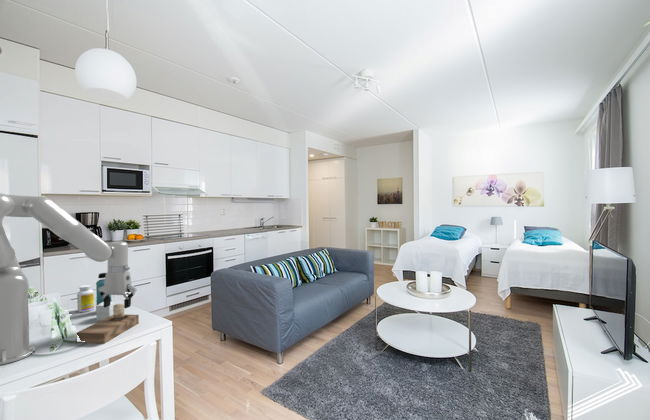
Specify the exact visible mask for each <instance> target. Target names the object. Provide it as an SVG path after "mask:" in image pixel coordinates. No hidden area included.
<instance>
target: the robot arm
mask: <svg viewBox="0 0 650 420" xmlns="http://www.w3.org/2000/svg"><path fill="white" fill-rule="evenodd" d="M5 217H6V218H7V217H11V218H12V217H14V218H33V219H35V221H38V223H40V224H41V225H42V226H44V227H45V228H47V229H49V230H50V231H51V232H52V233H53V234H54V235H56V236H57V237H59V238H61V240H63V241H65V242H68V243H69V244H71V245H73V246H74V247H76V248H77V249H79V250H80V251H81V252H83V253H84V255H85V256H86V257H87V258H88V259H90V260H93V261H95V262H99V263H102V262H106V261H107V272H105V273H106V277H105V278H104V279H105V283H104V286H102V287H100V288H98V290H99V292H100V295H101V296H102V298H103V299H104V307H108V306H110V302H111V301H112V296H123V297H124V300H123V301H124V302H123V304H124V309H127V308H130V307H131V305H132V299H133V297H134V295H136V292H137V288H136V287H134V286H132V278H131V272H130V271H129V270H130V269H131V268H130V266H129V263H128V262H129V244H128V242H127V241H121V240H120V241H119V240H118V241H111V242H106V241H104V240H102V239H101V238H100V237H99V236H98V235H96V234H95V233H94V232H92V231H91V230H90V229H89V228H87V227H86V226H85V225H83V224H82V223H81V222H80V221H79V220H77V218H75V217H73V216H72V215H71V214H70V213H69V212H67V211H66V210H65V209H63V207H62V206H60V205H59V204H58V203H56V201H54V200H52V199H51V198H49V197H47V196H43V195H40V196H33V195H31V196H29V195H15V194H5V193H1V192H0V366H1V365H5V364H11V363H13V362H14V363H15V362H19V361H20V360H23V359H25V358H28V357H30V356H31V355H30V353H31V352H33V351H36V346H35V345H30V323H29V316H30V315H29V290H30V289H29V288H30V286H29V280H28V278H27V276H26V275H25V273H24V272H23V270H22V267H21V266H20V263H19V261H18V258H17V256H16V251H15V249H14V248H13V246H12V245H11V243H10V241H9V239H8V236H7V235H6V231H5V228H4V226H3V219H4V218H5ZM110 295H111V297H109V296H110Z"/></svg>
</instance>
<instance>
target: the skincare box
mask: <svg viewBox="0 0 650 420" xmlns="http://www.w3.org/2000/svg"><path fill="white" fill-rule="evenodd" d="M116 304H117V301H116V300H114V301H113V300H111V302H110V306H108V307H104V302H102V303H100V304H98V305H97V304H96V305H95V311H96V321H97V322H99V321H101V320H103V319H105V318H107V317H109V316H112V315H114V314H113V306H114V305H116Z"/></svg>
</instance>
